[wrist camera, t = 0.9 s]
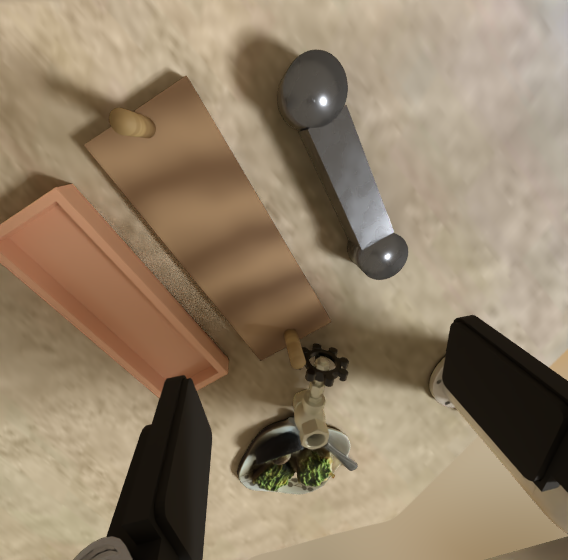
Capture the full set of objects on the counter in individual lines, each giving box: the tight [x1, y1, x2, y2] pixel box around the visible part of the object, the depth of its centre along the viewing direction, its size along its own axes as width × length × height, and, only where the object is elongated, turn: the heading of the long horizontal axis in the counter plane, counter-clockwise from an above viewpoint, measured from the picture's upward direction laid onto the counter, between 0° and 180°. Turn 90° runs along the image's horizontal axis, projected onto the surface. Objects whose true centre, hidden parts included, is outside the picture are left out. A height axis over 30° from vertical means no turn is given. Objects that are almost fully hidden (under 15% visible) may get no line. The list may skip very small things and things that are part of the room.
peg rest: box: [84, 76, 331, 369], centre depth 27 cm, size 28×10×6 cm, turn 29°
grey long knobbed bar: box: [277, 50, 408, 280], centre depth 27 cm, size 21×5×4 cm, turn 29°
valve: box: [293, 344, 349, 449], centre depth 36 cm, size 7×7×12 cm
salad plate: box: [237, 417, 358, 494], centre depth 44 cm, size 19×18×5 cm
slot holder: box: [0, 184, 229, 398], centre depth 30 cm, size 25×9×3 cm, turn 29°
